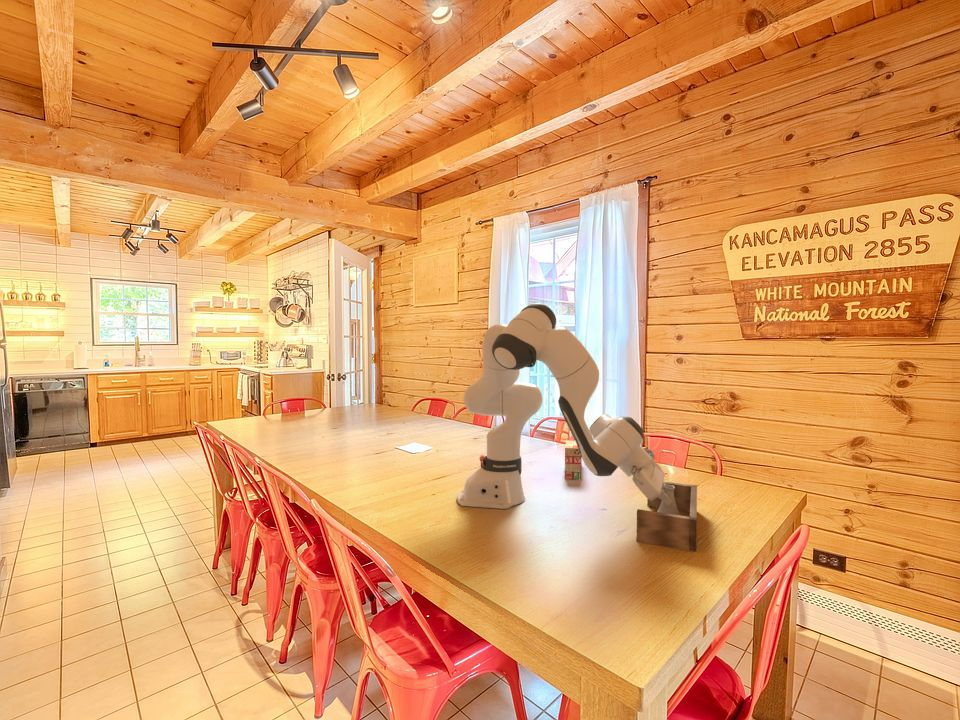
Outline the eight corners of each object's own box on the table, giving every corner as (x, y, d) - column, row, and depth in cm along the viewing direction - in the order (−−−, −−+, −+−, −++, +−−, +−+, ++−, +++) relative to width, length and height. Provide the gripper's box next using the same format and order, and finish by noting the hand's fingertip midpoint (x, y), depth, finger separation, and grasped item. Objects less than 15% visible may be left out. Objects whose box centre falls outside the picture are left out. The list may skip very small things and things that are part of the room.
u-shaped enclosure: (636, 541, 118) (636, 511, 118) (647, 504, 145) (648, 479, 144) (696, 551, 112) (696, 520, 112) (696, 511, 139) (697, 485, 138)
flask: (682, 518, 131) (682, 484, 130) (682, 527, 124) (682, 492, 124) (655, 514, 134) (656, 480, 133) (653, 523, 127) (654, 488, 127)
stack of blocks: (566, 464, 193) (566, 435, 192) (581, 464, 191) (581, 435, 191) (564, 479, 172) (564, 447, 171) (581, 480, 170) (581, 447, 170)
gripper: (639, 465, 122) (678, 506, 118) (646, 447, 140) (680, 483, 136) (621, 479, 124) (659, 520, 120) (631, 460, 142) (664, 495, 138)
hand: (671, 500), depth 128 cm, fingers closed on flask, 3 cm apart
